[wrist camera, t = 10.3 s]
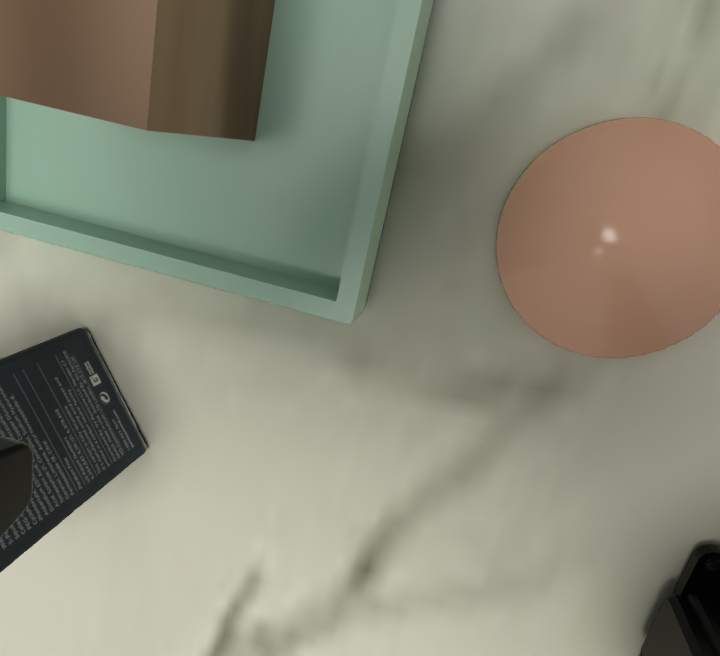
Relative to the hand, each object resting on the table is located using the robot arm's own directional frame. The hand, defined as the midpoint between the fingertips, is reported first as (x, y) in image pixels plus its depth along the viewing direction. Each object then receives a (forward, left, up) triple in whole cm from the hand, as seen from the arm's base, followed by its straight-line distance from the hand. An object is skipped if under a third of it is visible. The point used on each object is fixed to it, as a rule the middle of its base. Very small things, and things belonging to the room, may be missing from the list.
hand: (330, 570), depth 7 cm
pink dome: (-5, -4, -12) cm, 14 cm away
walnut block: (+9, -7, -11) cm, 16 cm away
